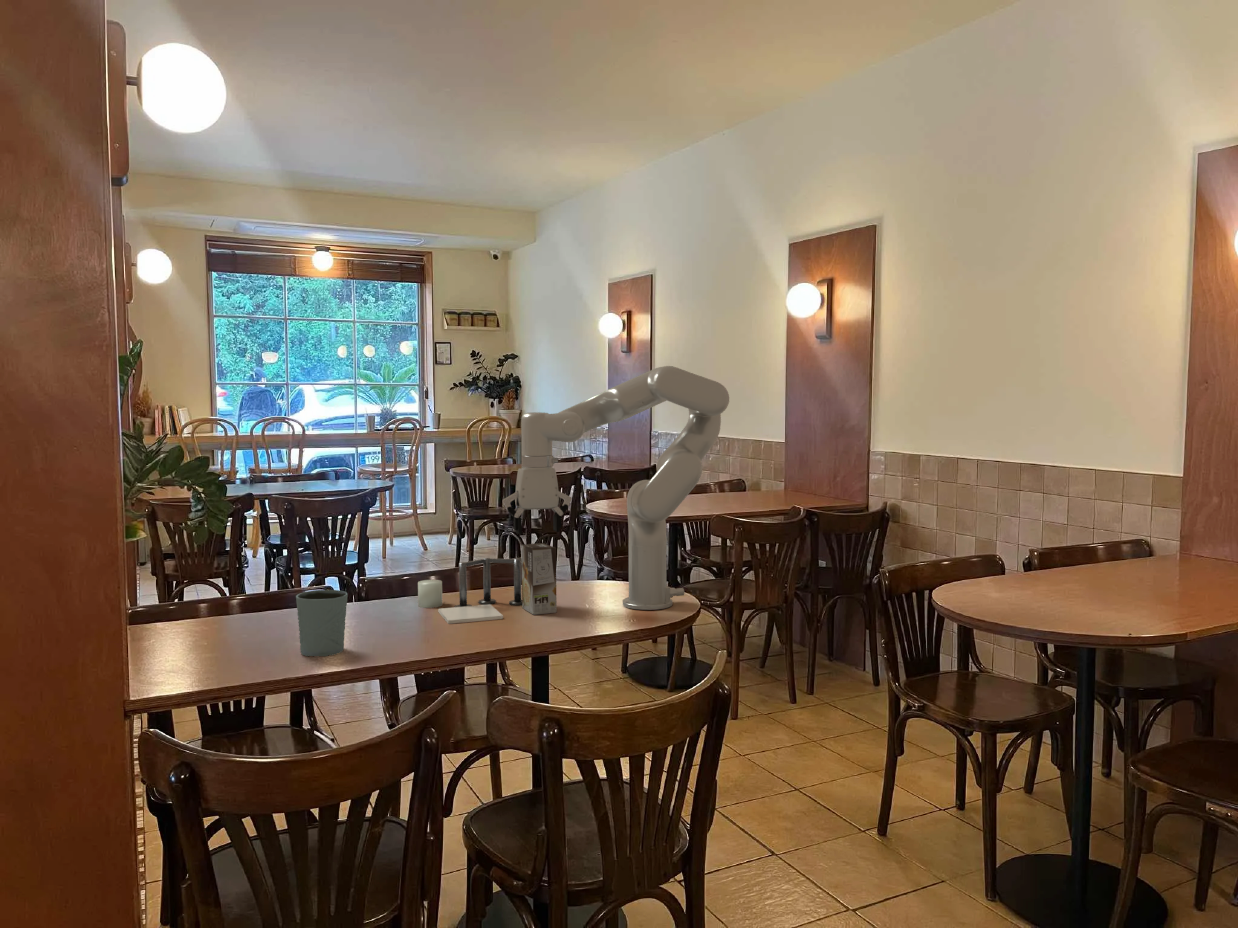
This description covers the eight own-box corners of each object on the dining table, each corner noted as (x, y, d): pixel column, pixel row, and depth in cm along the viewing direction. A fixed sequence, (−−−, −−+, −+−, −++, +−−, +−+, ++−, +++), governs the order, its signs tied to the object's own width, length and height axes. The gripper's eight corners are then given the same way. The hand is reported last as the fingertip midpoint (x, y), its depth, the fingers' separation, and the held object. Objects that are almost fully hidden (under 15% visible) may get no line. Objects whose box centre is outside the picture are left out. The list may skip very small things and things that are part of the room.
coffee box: (557, 612, 225) (557, 547, 224) (533, 615, 223) (532, 549, 222) (544, 605, 234) (544, 542, 233) (520, 607, 231) (519, 544, 230)
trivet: (490, 607, 231) (490, 604, 231) (502, 618, 219) (502, 615, 219) (438, 611, 227) (438, 608, 227) (448, 623, 215) (448, 620, 214)
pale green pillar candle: (440, 601, 238) (439, 578, 238) (444, 606, 233) (443, 583, 232) (416, 603, 236) (416, 580, 236) (420, 608, 231) (419, 585, 230)
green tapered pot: (289, 651, 192) (287, 594, 191) (334, 642, 199) (332, 587, 198) (311, 660, 185) (310, 601, 184) (357, 650, 192) (356, 593, 191)
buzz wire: (519, 598, 242) (519, 554, 241) (528, 604, 234) (528, 559, 233) (449, 604, 235) (449, 559, 235) (456, 611, 228) (455, 564, 227)
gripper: (566, 461, 232) (566, 528, 234) (498, 462, 226) (499, 532, 227) (575, 462, 225) (575, 532, 226) (506, 464, 219) (507, 536, 220)
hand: (537, 532), depth 227 cm, fingers open, 9 cm apart
